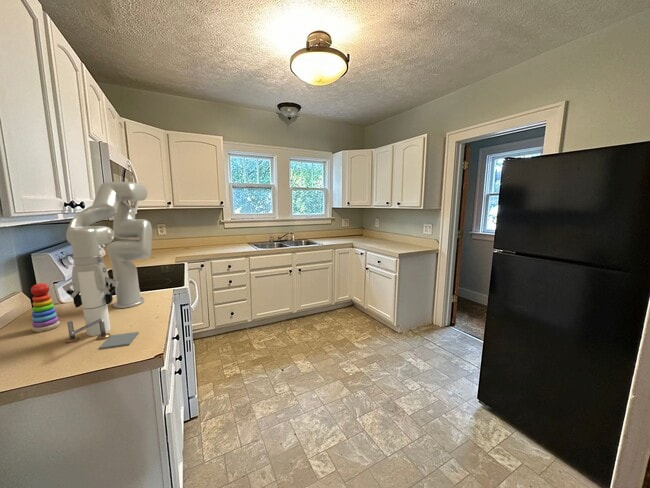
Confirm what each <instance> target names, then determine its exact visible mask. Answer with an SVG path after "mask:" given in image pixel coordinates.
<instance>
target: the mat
mask: <svg viewBox="0 0 650 488" xmlns="http://www.w3.org/2000/svg"><path fill="white" fill-rule="evenodd" d="M139 333H140V332H139V331H135V332H127V333H119V334H110V335H111V336H110V337H109V338H106V340H104V342H103V343H102V344H101V345H100V346H99V347H98V350H104V349H109V348H110V349H111V348H117V347H126V346H130V345H131V344H132V342H133V341H134V340H135V339H136V338H137V336H138V335H139Z"/></svg>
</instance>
